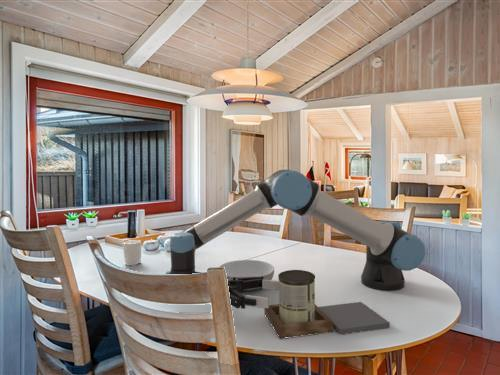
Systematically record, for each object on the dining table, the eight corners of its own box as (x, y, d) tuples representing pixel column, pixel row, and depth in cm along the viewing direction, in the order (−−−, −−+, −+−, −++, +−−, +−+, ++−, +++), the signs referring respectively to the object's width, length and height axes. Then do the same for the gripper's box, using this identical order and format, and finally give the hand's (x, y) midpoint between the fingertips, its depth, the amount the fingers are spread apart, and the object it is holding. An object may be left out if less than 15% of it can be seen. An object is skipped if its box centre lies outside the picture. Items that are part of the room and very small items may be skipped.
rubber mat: (360, 306, 116) (360, 301, 116) (389, 327, 102) (389, 322, 102) (316, 311, 113) (316, 307, 113) (339, 334, 98) (339, 329, 98)
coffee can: (277, 316, 111) (276, 270, 109) (311, 314, 111) (311, 269, 110) (281, 332, 100) (280, 281, 99) (318, 331, 101) (318, 280, 100)
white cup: (136, 266, 163) (135, 244, 162) (120, 265, 165) (119, 243, 164) (145, 261, 171) (144, 240, 170) (129, 260, 172) (128, 239, 171)
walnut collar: (311, 309, 115) (310, 300, 114) (332, 331, 100) (332, 321, 100) (264, 315, 111) (264, 305, 111) (280, 339, 97) (280, 328, 96)
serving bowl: (212, 295, 128) (211, 276, 127) (224, 275, 149) (224, 259, 148) (272, 297, 125) (272, 277, 124) (276, 277, 146) (276, 260, 145)
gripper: (227, 284, 127) (287, 291, 119) (190, 313, 103) (261, 325, 96) (227, 262, 126) (287, 268, 118) (189, 287, 103) (261, 297, 95)
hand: (276, 294), depth 107 cm, fingers open, 13 cm apart
